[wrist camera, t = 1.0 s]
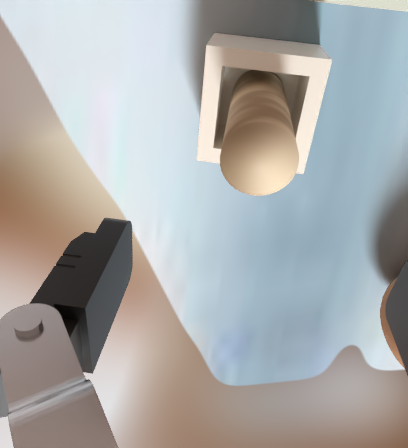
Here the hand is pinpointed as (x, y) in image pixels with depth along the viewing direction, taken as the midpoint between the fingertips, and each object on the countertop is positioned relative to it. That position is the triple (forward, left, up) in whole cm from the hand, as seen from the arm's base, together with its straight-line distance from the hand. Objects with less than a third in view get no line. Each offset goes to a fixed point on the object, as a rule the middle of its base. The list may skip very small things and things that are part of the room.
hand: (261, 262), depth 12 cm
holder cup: (0, 0, -19) cm, 19 cm away
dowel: (0, 0, -19) cm, 19 cm away
